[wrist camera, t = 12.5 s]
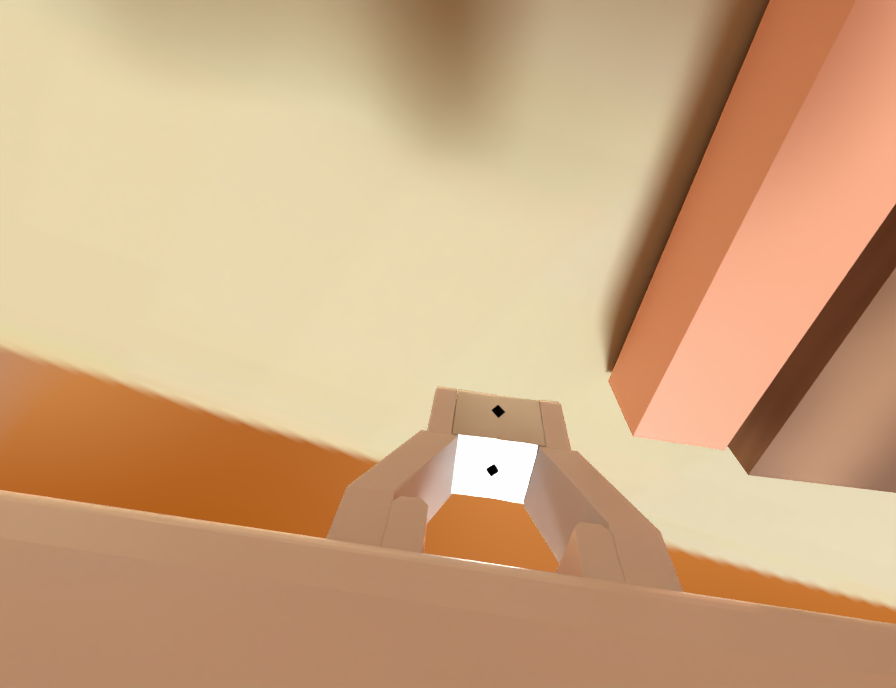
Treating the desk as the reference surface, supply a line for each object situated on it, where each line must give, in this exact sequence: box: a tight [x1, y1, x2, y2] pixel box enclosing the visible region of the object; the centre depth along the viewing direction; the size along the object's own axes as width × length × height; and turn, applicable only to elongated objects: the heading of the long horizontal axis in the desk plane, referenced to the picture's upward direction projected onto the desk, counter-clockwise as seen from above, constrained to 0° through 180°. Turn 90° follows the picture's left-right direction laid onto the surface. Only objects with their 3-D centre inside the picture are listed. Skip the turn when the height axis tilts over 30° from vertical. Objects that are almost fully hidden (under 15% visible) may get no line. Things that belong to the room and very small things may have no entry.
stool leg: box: [609, 0, 896, 450], centre depth 12 cm, size 18×4×4 cm, turn 173°
